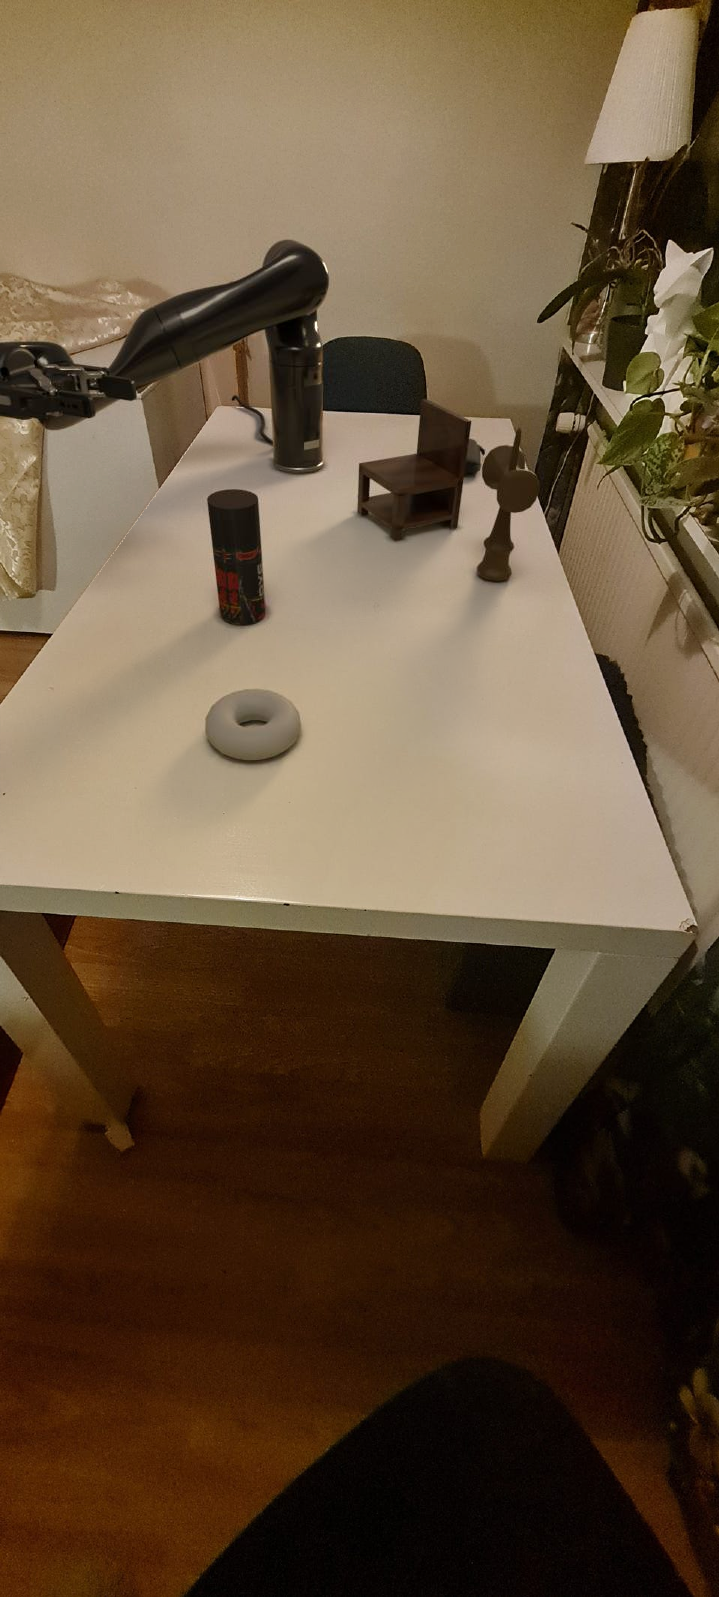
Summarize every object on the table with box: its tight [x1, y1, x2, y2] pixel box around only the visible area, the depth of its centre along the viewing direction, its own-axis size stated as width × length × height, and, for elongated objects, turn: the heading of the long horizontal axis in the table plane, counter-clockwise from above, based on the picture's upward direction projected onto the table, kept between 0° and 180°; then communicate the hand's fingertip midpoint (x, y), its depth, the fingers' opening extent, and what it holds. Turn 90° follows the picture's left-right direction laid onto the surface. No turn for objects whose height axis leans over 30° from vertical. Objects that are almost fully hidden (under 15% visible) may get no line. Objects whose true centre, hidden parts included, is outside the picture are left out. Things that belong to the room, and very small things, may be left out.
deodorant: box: [206, 488, 267, 627], centre depth 88 cm, size 6×6×15 cm
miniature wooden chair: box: [357, 398, 472, 542], centre depth 111 cm, size 12×12×16 cm
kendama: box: [476, 427, 540, 582], centre depth 97 cm, size 6×10×20 cm, turn 4°
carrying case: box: [464, 438, 486, 477], centre depth 135 cm, size 11×3×15 cm
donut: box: [204, 688, 302, 761], centre depth 74 cm, size 10×4×10 cm
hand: (114, 398), depth 79 cm, fingers open, 8 cm apart
